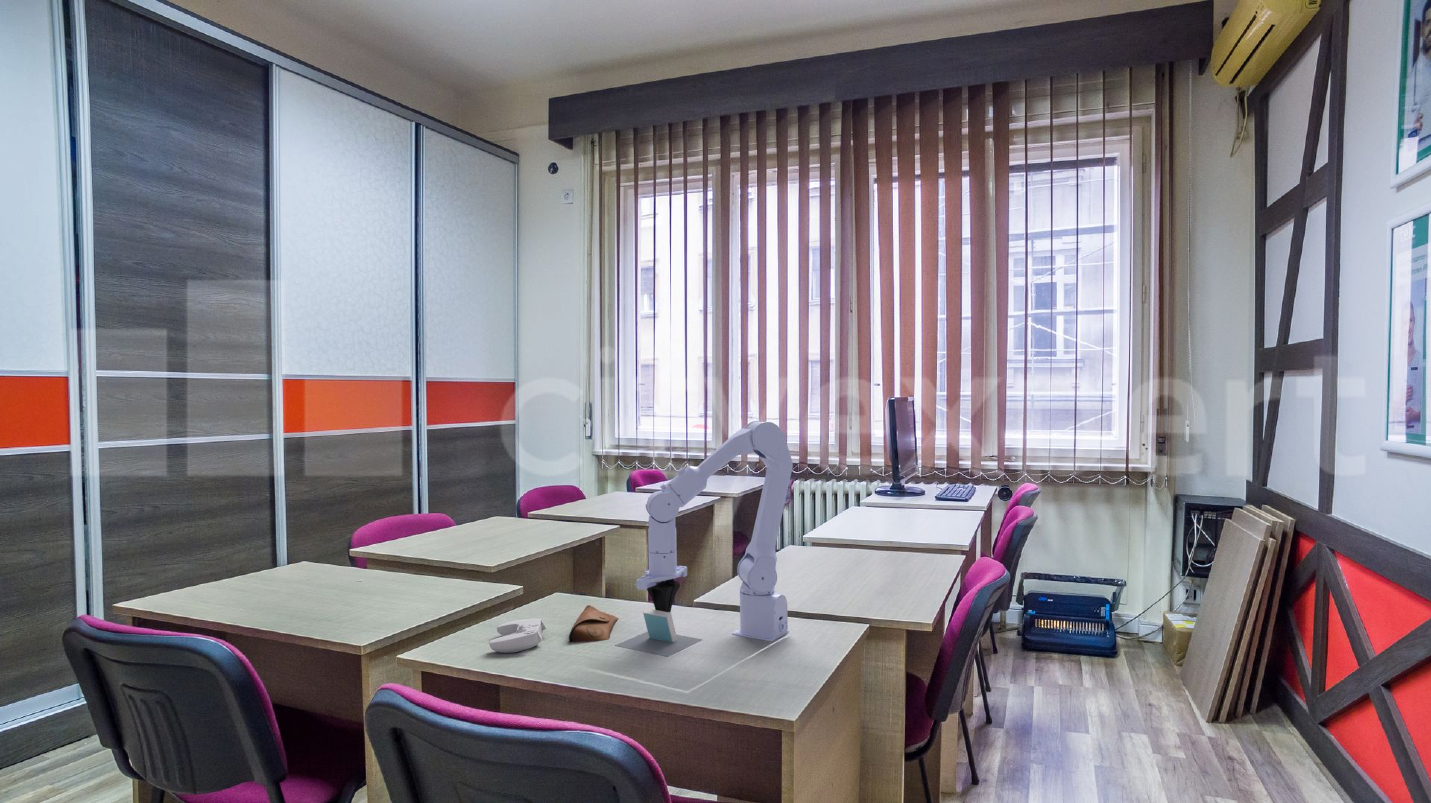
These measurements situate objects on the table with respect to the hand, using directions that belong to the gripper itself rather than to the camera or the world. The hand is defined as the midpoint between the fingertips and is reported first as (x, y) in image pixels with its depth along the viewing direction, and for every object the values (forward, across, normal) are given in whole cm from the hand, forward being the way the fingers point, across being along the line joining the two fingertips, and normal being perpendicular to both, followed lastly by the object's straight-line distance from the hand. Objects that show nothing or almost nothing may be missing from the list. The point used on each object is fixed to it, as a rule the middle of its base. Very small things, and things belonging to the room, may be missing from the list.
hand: (663, 618), depth 155 cm
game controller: (+5, +16, -25) cm, 30 cm away
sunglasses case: (+5, +2, -17) cm, 18 cm away
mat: (+5, +2, 0) cm, 5 cm away
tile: (+4, 0, 0) cm, 4 cm away
